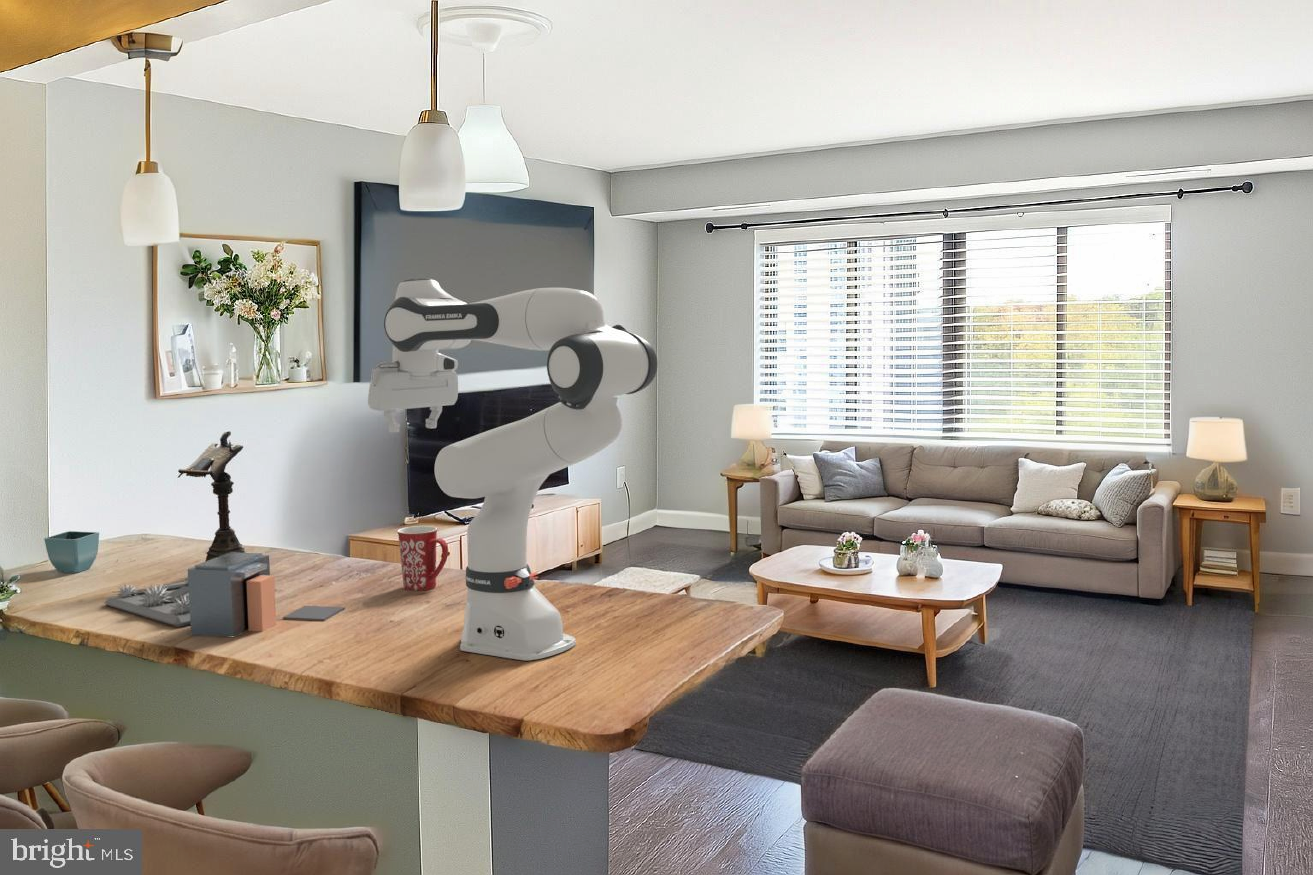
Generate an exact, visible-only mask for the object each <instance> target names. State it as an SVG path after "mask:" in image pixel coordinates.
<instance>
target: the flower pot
mask: <svg viewBox="0 0 1313 875" xmlns="http://www.w3.org/2000/svg"><path fill="white" fill-rule="evenodd" d="M99 540H100V532H99V531H72V530H71V531H70V530H69V531H65V532H61V533H58V534H55V535H51V536H47V537H45V538H44V539H43V541H44V545H45V549H46V553H47V556H48V560H49V562H50V563H51V565H52V566H53V568H55V570H56V571H57V572H58V573H71V574H72V573H73V574H77V573H80V572H82V571H85V570H88V569H91V567H92V566H93V564H94V562H95V561H96V559H97V556H98V552H99V542H100V541H99Z"/></svg>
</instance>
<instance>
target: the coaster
mask: <svg viewBox="0 0 1313 875" xmlns="http://www.w3.org/2000/svg"><path fill="white" fill-rule="evenodd" d="M343 611H345V607H344V606H343V607H342V606H322V605H321V606H320V605H303V606H302V607H299V608H297V609H296V610H294V611H291V612H290V613H289V614H286V615H284V616H283V617H282V619H283V620H296V621H314V622H315V621H318V622H319V621H321V622H324V621H327V620H328V619H330V618H332V617H334V616H335V615H337V614H339V613H341V612H343Z"/></svg>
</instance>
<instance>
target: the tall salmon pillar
mask: <svg viewBox="0 0 1313 875" xmlns="http://www.w3.org/2000/svg"><path fill="white" fill-rule="evenodd" d="M246 583H247V604H248V625H249V630H248V632H262V631H263V632H265V631H266V630H268V629H270V628H272V627H274V626H276V625H277V614H276V613H277V612H276V590H275V588H276V586H275V575H271V574H270V575H259V576H257V577H255V578H252V579H250V580H248V581H246Z"/></svg>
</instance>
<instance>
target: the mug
mask: <svg viewBox="0 0 1313 875" xmlns="http://www.w3.org/2000/svg"><path fill="white" fill-rule="evenodd" d="M396 532H397V535H398V544H399V554H400V555H399V556H400V563H401V564H400V565H401V572H402V573H401V574H402V584H403V585H402V586H403V589H404V590H406V591H413V592H418V591H426V590H431V589H434V588H435V587H437V577H438V575H439V574H440V573H441V572H442V570H443V568H444V567H445V565H446V562H447V559H448V555H449V548H448V544H447V542H446V540H444V539H443V538H441V537H440V538H437V532H438V527H436V526H431V525H417V526H416V525H415V526H407V527H406V526H405V527H402V528H399V529H397V530H396ZM437 543H438V544H439V546H440V547H441V558H440V561H439V564H438V566H437Z"/></svg>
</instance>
